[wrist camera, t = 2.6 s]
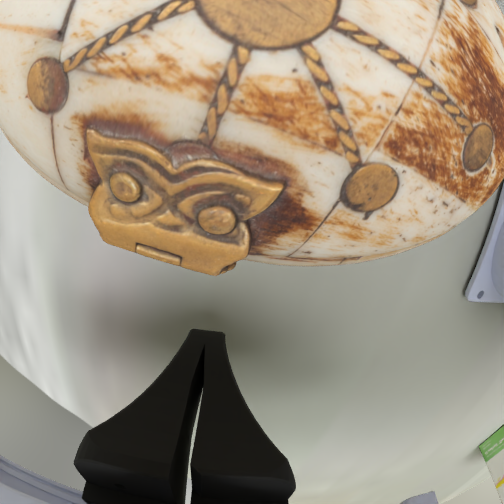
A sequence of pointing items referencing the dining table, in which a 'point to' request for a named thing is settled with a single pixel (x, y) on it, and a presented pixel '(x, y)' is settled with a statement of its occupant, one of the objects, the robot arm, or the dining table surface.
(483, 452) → the ink box
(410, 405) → the dining table surface
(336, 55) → the trinket box
